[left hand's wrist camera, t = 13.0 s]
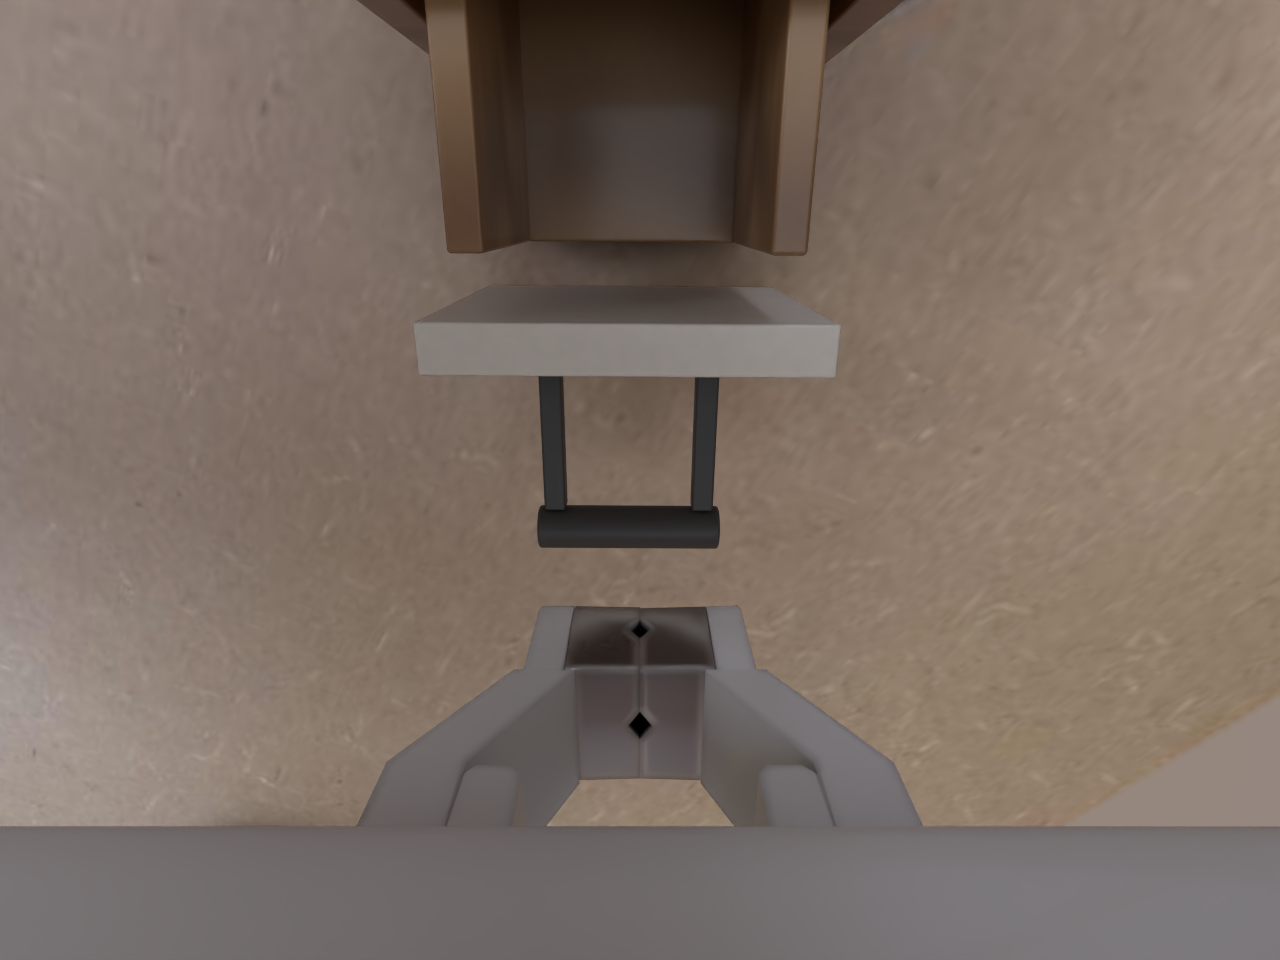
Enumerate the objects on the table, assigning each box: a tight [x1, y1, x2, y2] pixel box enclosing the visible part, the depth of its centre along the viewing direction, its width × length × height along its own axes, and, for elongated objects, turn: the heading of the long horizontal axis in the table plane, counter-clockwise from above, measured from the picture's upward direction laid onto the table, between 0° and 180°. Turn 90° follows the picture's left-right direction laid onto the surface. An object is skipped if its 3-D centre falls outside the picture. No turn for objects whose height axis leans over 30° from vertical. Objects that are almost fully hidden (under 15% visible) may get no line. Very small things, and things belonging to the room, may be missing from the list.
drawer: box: [413, 0, 841, 549], centre depth 17 cm, size 23×10×8 cm, turn 0°
